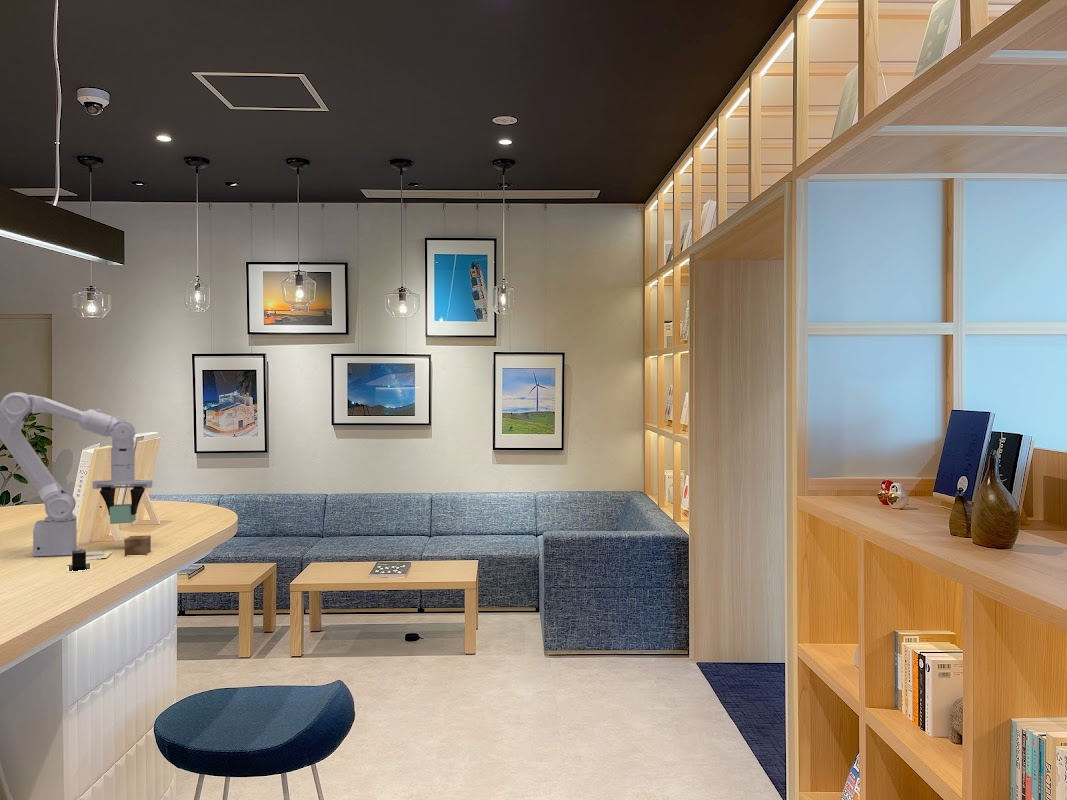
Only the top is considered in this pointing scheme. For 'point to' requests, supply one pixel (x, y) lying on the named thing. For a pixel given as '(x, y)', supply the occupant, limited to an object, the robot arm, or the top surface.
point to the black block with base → (79, 561)
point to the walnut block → (137, 545)
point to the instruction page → (95, 555)
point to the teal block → (121, 514)
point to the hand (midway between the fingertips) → (122, 514)
